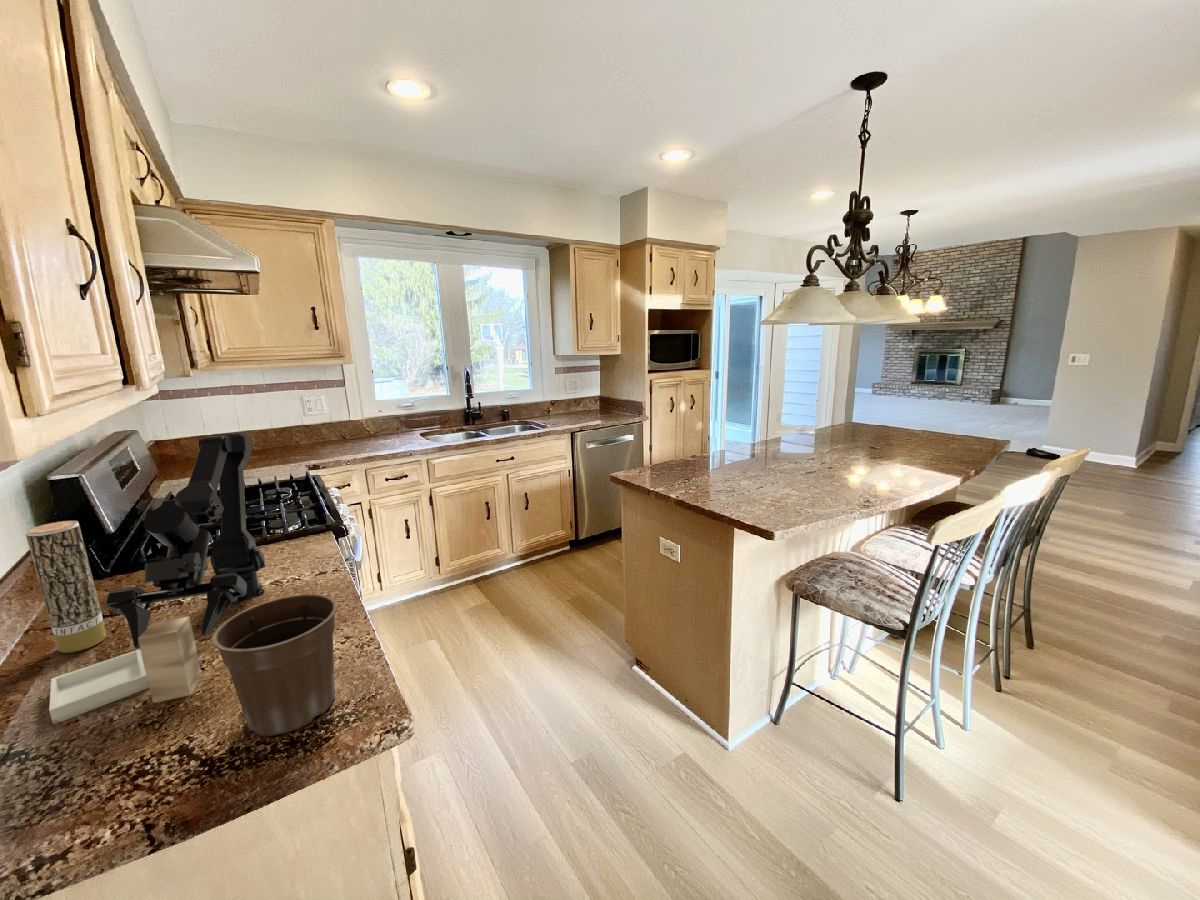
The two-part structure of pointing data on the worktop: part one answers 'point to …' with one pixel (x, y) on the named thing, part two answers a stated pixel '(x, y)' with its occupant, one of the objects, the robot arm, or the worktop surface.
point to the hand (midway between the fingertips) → (171, 641)
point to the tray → (96, 685)
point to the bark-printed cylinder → (67, 585)
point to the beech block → (170, 659)
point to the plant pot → (281, 661)
